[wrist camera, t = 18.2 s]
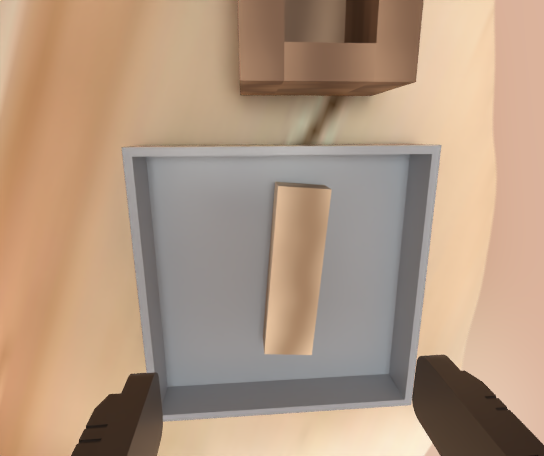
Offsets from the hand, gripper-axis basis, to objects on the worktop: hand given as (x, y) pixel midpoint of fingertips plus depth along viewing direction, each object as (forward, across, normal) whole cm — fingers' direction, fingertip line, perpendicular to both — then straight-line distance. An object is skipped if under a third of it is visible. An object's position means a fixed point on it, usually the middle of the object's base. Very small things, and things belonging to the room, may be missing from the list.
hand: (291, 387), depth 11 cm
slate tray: (+19, -2, +5) cm, 20 cm away
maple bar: (+19, -3, +4) cm, 19 cm away
